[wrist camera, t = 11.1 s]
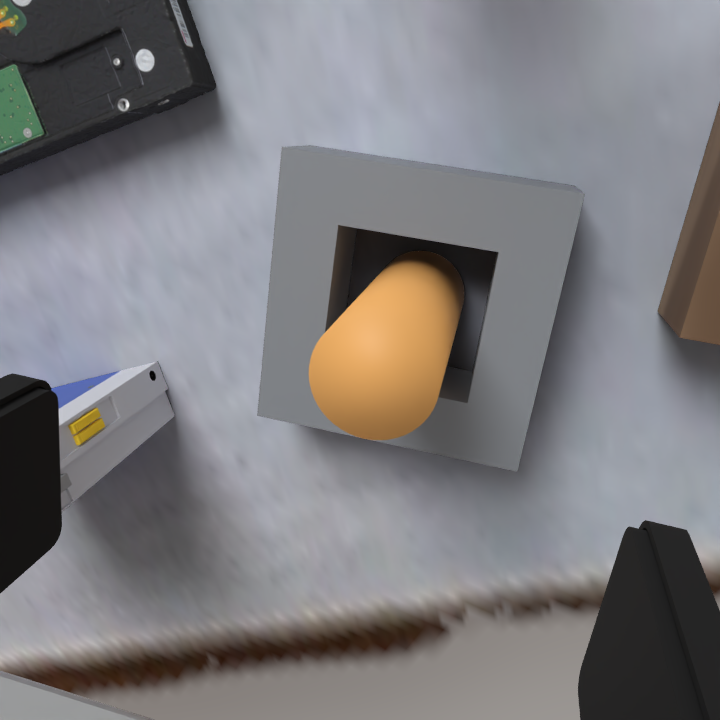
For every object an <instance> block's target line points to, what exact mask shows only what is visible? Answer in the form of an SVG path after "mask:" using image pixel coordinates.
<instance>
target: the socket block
mask: <svg viewBox="0 0 720 720" xmlns="http://www.w3.org/2000/svg"><path fill="white" fill-rule="evenodd" d="M584 196H585V194H584V193H583V192H582V191H581V190H579V189H578V188H577V187H575V186H572V185H566V184H559V183H552V182H546V181H539V180H533V179H526V178H520V177H513V176H507V175H500V174H494V173H487V172H481V171H474V170H467V169H461V168H454V167H448V166H441V165H435V164H428V163H422V162H415V161H409V160H402V159H396V158H389V157H382V156H376V155H369V154H363V153H356V152H350V151H343V150H337V149H330V148H324V147H317V146H311V145H309V146H292V147H282V151H281V162H280V173H279V184H278V195H277V206H276V217H275V228H274V239H273V250H272V261H271V272H270V283H269V294H268V305H267V316H266V327H265V338H264V349H263V360H262V371H261V382H260V392H259V403H258V414H257V416H261V417H266V418H271V419H275V420H280V421H284V422H289V423H294V424H298V425H303V426H308V427H312V428H317V429H321V430H326V431H331V432H335V433H340V434H344V435H349V436H354V435H351V434H349V433H347V432H345V431H343V430H341V429H340V428H339V427H337V426H336V425H334V424H333V423H332V422H331V421H330V420H329V419H328V418H327V417H326V416H325V415H324V414H323V412H322V411H321V410H320V408H319V407H318V405H317V403H316V401H315V399H314V397H313V394H312V391H311V387H310V383H309V364H310V358H311V355H312V352H313V350H314V348H315V346H316V344H317V342H318V341H319V339H320V338H321V336H322V335H323V334H324V333H325V332H326V331H327V330H328V329H329V328H330V327H331V326H332V325H333V323H334V322H335V321H336V320H337V319H338V318H339V317H340V316H341V315H342V314H343V313H344V312H345V310H346V308H347V301H348V293H349V286H350V278H351V270H352V263H353V255H354V248H355V240H356V233H357V228H359V229H365V230H371V231H377V232H383V233H389V234H395V235H400V236H406V237H412V238H418V239H424V240H430V241H436V242H442V243H448V244H453V245H459V246H465V247H471V248H477V249H483V250H489V251H495V252H497V254H496V259H495V263H494V268H493V273H492V278H491V283H490V288H489V293H488V297H487V302H486V307H485V312H484V317H483V322H482V327H481V331H480V336H479V341H478V346H477V351H476V356H475V361H474V365H473V370H472V371H467V370H462V369H457V368H452V367H447V366H446V370H445V374H444V378H443V381H442V385H441V389H440V392H439V396H438V400H437V402H436V405H435V407H434V409H433V411H432V412H431V414H430V416H429V417H428V418H427V419H426V420H425V422H423V423H422V424H421V425H420V426H419V427H418V428H416V429H415V430H413V431H412V432H410V433H408V434H406V435H404V436H401V437H398V438H394V439H390V440H372V441H377V442H381V443H386V444H391V445H395V446H400V447H405V448H409V449H414V450H418V451H423V452H428V453H432V454H437V455H441V456H446V457H451V458H455V459H460V460H465V461H469V462H474V463H478V464H483V465H488V466H492V467H497V468H501V469H506V470H511V471H515V472H517V471H518V467H519V463H520V458H521V454H522V450H523V446H524V442H525V438H526V434H527V430H528V426H529V421H530V417H531V413H532V409H533V405H534V401H535V397H536V393H537V389H538V385H539V380H540V376H541V372H542V368H543V364H544V360H545V356H546V352H547V348H548V344H549V339H550V335H551V331H552V327H553V323H554V319H555V315H556V311H557V307H558V302H559V298H560V294H561V290H562V286H563V282H564V278H565V274H566V270H567V266H568V261H569V257H570V253H571V249H572V245H573V241H574V237H575V233H576V229H577V224H578V220H579V216H580V212H581V208H582V204H583V200H584ZM354 437H356V436H354ZM358 438H360V437H358ZM368 440H369V439H368Z"/></svg>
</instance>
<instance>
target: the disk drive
mask: <svg viewBox="0 0 720 720" xmlns="http://www.w3.org/2000/svg"><path fill="white" fill-rule="evenodd" d="M215 86H216V83H215V80H214V77H213V74H212V72H211V69H210V66H209V63H208V61H207V59H206V56H205V52H204V49H203V47H202V45H201V42H200V38H199V34H198V31H197V29H196V25H195V23H194V20H193V17H192V14H191V11H190V9H189V7H188V3H187V0H0V175H3V174H5V173H8V172H10V171H13V170H14V169H17V168H20V167H23V166H25V165H27V164H29V163H32V162H35V161H37V160H39V159H42V158H45V157H47V156H50V155H53V154H56V153H58V152H60V151H63V150H65V149H67V148H70V147H73V146H75V145H77V144H80V143H82V142H85V141H88V140H90V139H92V138H95V137H97V136H99V135H101V134H104V133H107V132H109V131H112V130H114V129H117V128H119V127H122V126H124V125H127V124H129V123H132V122H134V121H137V120H140V119H142V118H144V117H147V116H149V115H152V114H154V113H160V112H163V111H165V110H169V109H171V108H173V107H175V106H177V105H180V104H183V103H186V102H187V101H188V100H189V99H192V98H195V97H197V96H200V95H203V93H205V92H210V91H212V90H214V89H215Z"/></svg>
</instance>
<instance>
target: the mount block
mask: <svg viewBox="0 0 720 720" xmlns="http://www.w3.org/2000/svg"><path fill="white" fill-rule="evenodd" d="M658 313H659V314H660V315H661V316H662V317H663V319H664V320H665V321H666V322H667V323H668V324H669V326H670V327H671V328H672V329H673V330H674V332H675V333H676V334H677V335H678V336H679V337H680V338H684V339H690V340H695V341H701V342H706V343H712V344H717V345H720V103H719V106H718V110H717V113H716V116H715V120H714V123H713V126H712V130H711V133H710V136H709V140H708V143H707V147H706V150H705V153H704V157H703V160H702V163H701V167H700V170H699V174H698V177H697V180H696V184H695V187H694V190H693V194H692V197H691V200H690V204H689V207H688V211H687V214H686V217H685V221H684V224H683V227H682V231H681V234H680V237H679V241H678V244H677V248H676V251H675V254H674V258H673V261H672V264H671V268H670V271H669V275H668V278H667V281H666V285H665V288H664V291H663V295H662V298H661V301H660V305H659V308H658Z"/></svg>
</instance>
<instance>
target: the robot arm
mask: <svg viewBox="0 0 720 720" xmlns="http://www.w3.org/2000/svg"><path fill="white" fill-rule="evenodd" d="M61 527H62V515H61V478H60V442H59V406H58V397H57V395H56V393H54V392H53V391H52V390H51V387H50V385H49V384H48V383H47V382H46V381H43V380H39V379H35V378H30V377H26V376H22V375H17V374H10V375H7V376H4V377H2V378H0V593H1V592H2V591H4V590H5V589H6V588H7V587H8V586H9V585H10V584H11V583H13V582H14V581H15V580H16V579H17V578H18V577H19V576H21V575H22V574H23V573H24V572H25V571H26V570H27V569H28V568H30V567H31V566H32V565H33V564H34V563H35V562H36V561H37V560H39V559H40V558H41V557H42V556H43V555H44V554H45V553H46V552H48V551H49V550H50V549H51V548H52V547H53V546H54V545H55V543H56V542H57V540H58V538H59V536H60V532H61ZM578 697H579V707H580V718H581V720H720V611H719V608H718V606H717V603H716V601H715V598H714V596H713V593H712V590H711V588H710V585H709V583H708V580H707V578H706V575H705V573H704V570H703V568H702V565H701V563H700V560H699V558H698V555H697V553H696V550H695V548H694V545H693V543H692V540H691V538H690V535H689V533H688V532H687V530H684V529H681V528H676V527H672V526H668V525H663V524H659V523H655V522H650V521H646V520H645V521H644V522H642V524H641V526H640V527H639V529H637V528H633V527H628V528H627V529H626V531H625V533H624V535H623V538H622V541H621V545H620V548H619V551H618V554H617V557H616V560H615V563H614V566H613V570H612V573H611V576H610V579H609V582H608V585H607V588H606V591H605V595H604V598H603V601H602V604H601V607H600V610H599V613H598V616H597V619H596V623H595V626H594V629H593V632H592V635H591V639H590V642H589V644H588V648H587V651H586V654H585V657H584V660H583V663H582V666H581V670H580V676H579V683H578ZM0 720H154V719H151V718H148V717H144V716H141V715H138V714H135V713H132V712H129V711H126V710H122V709H119V708H116V707H113V706H110V705H107V704H104V703H101V702H97V701H94V700H91V699H88V698H85V697H82V696H78V695H75V694H72V693H69V692H66V691H63V690H60V689H56V688H53V687H50V686H47V685H44V684H41V683H37V682H34V681H31V680H28V679H25V678H22V677H18V676H15V675H12V674H9V673H6V672H3V671H0Z"/></svg>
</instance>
